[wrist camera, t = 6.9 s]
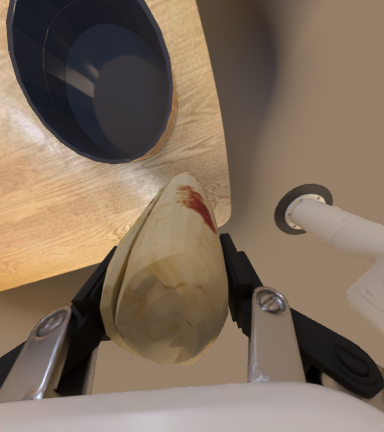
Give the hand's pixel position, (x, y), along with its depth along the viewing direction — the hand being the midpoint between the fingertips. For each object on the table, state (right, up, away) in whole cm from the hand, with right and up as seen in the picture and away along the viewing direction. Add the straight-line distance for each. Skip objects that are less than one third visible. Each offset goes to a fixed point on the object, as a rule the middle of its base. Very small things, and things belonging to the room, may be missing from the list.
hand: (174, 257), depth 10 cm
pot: (-14, +29, +21) cm, 38 cm away
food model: (0, +6, +14) cm, 15 cm away
